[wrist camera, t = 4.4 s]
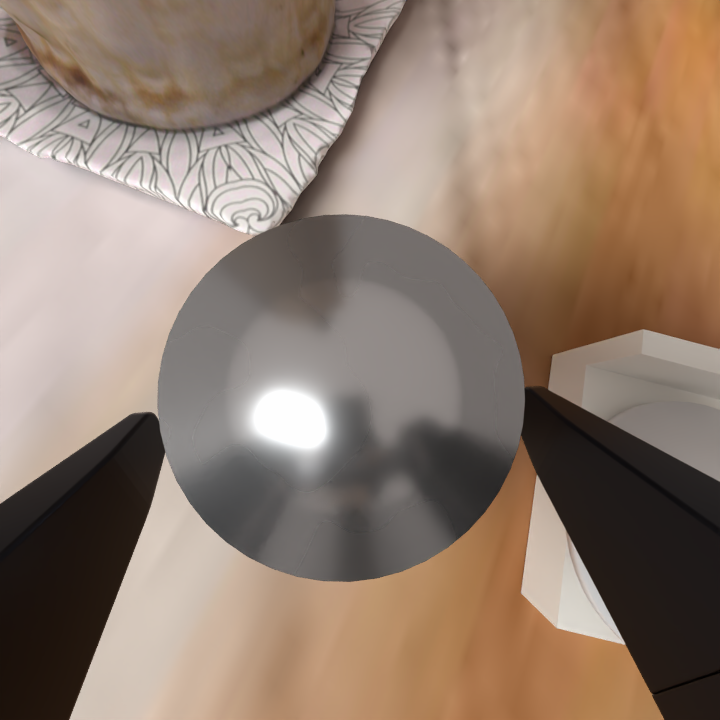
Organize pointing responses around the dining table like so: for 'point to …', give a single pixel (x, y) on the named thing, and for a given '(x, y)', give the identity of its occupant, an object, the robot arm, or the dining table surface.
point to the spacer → (341, 398)
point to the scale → (638, 417)
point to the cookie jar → (189, 93)
